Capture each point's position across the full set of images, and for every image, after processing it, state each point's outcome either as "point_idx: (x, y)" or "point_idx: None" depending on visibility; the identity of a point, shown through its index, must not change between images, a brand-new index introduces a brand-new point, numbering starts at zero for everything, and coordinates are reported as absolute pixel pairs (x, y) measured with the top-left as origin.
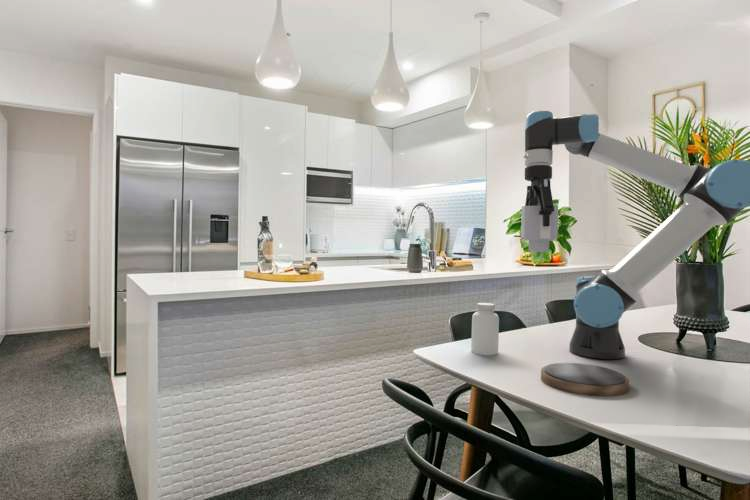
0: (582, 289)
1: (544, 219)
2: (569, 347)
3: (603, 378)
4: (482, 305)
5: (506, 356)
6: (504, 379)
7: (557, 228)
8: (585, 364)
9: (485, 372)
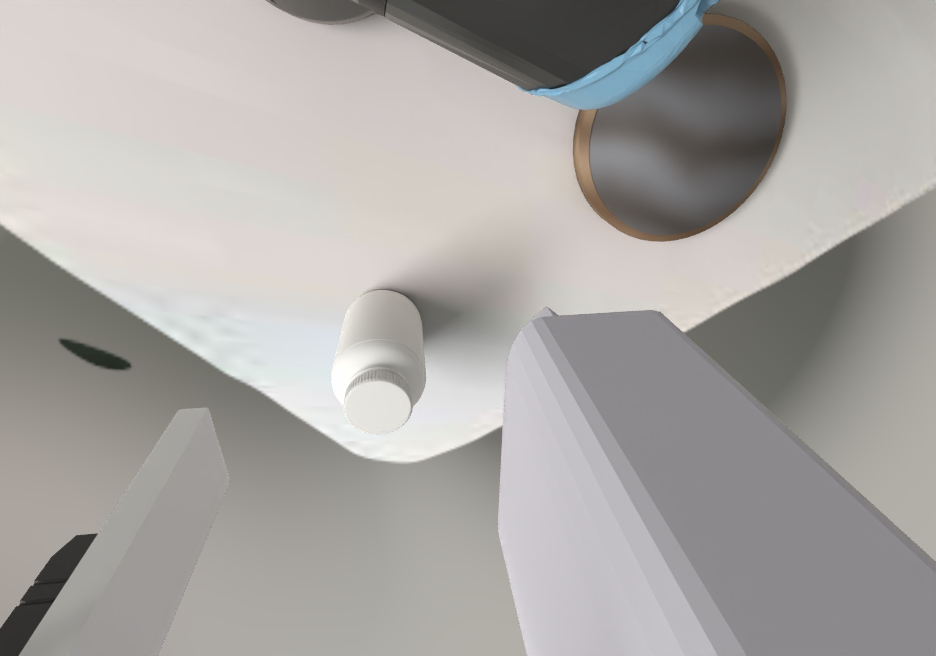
0: (633, 81)
1: None
2: (298, 17)
3: (743, 108)
4: (406, 419)
5: (413, 269)
6: None
7: (719, 366)
8: None
9: None
